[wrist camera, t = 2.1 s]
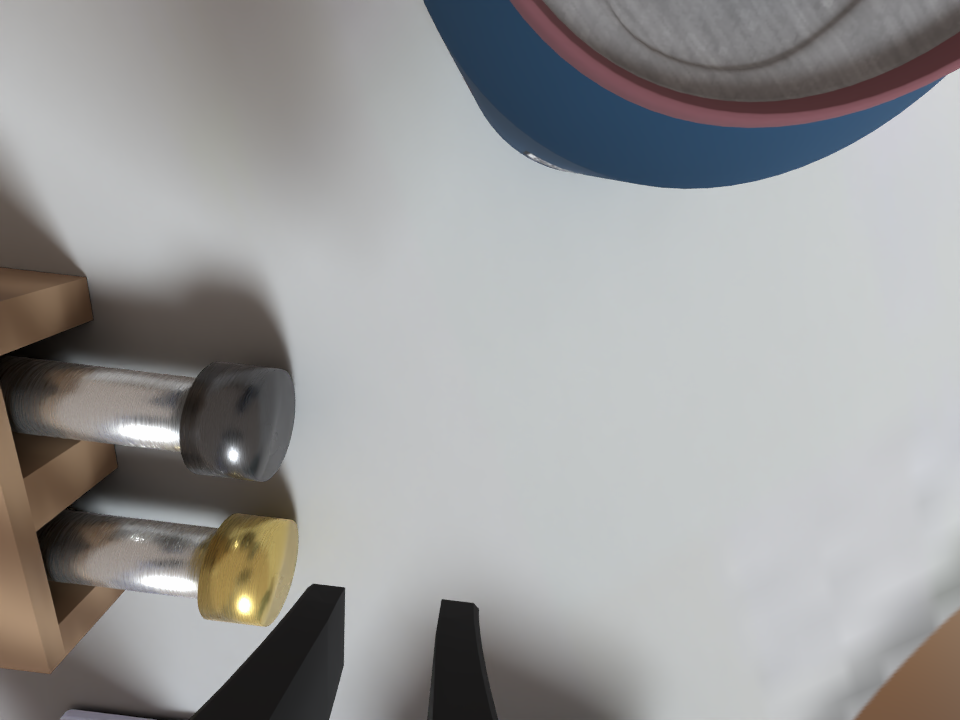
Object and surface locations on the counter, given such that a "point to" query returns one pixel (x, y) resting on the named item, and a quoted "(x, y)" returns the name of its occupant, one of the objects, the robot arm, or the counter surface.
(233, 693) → the robot arm
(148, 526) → the plunger
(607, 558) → the counter surface
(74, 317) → the catch block
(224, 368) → the plunger
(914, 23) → the soda can
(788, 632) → the counter surface
